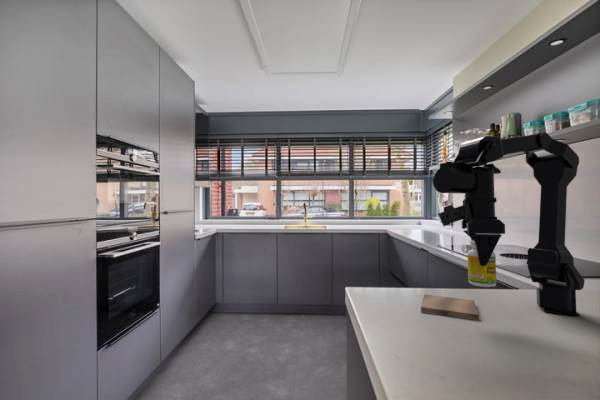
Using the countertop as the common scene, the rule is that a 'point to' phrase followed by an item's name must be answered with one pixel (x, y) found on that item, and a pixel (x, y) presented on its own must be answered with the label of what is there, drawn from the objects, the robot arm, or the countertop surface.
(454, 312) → the walnut board
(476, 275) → the supplement bottle
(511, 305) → the countertop surface
